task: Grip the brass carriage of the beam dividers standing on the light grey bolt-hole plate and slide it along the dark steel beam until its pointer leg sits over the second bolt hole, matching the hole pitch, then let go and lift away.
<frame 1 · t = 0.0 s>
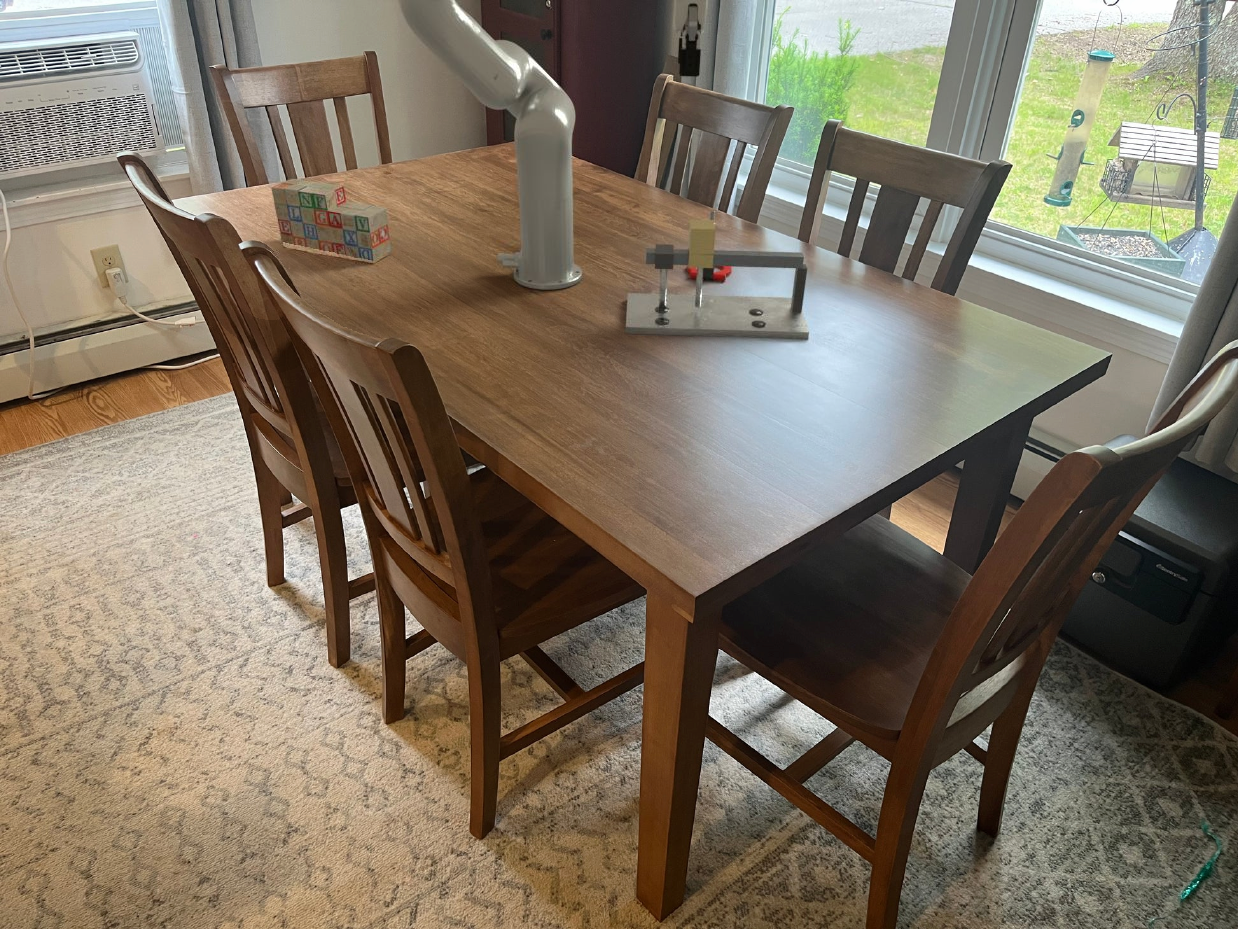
hand: (688, 69, 156), 37 cm above the table, tool pointing down, fingers open, 9 cm apart
hole plate: (714, 318, 163), on the table
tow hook: (708, 273, 181), on the table
carriage: (699, 264, 160), point 9 cm above the table, slide at 0.0 cm
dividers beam: (724, 279, 161), on the hole plate, point 6 cm above the table
stack of blocks: (337, 252, 187), on the table
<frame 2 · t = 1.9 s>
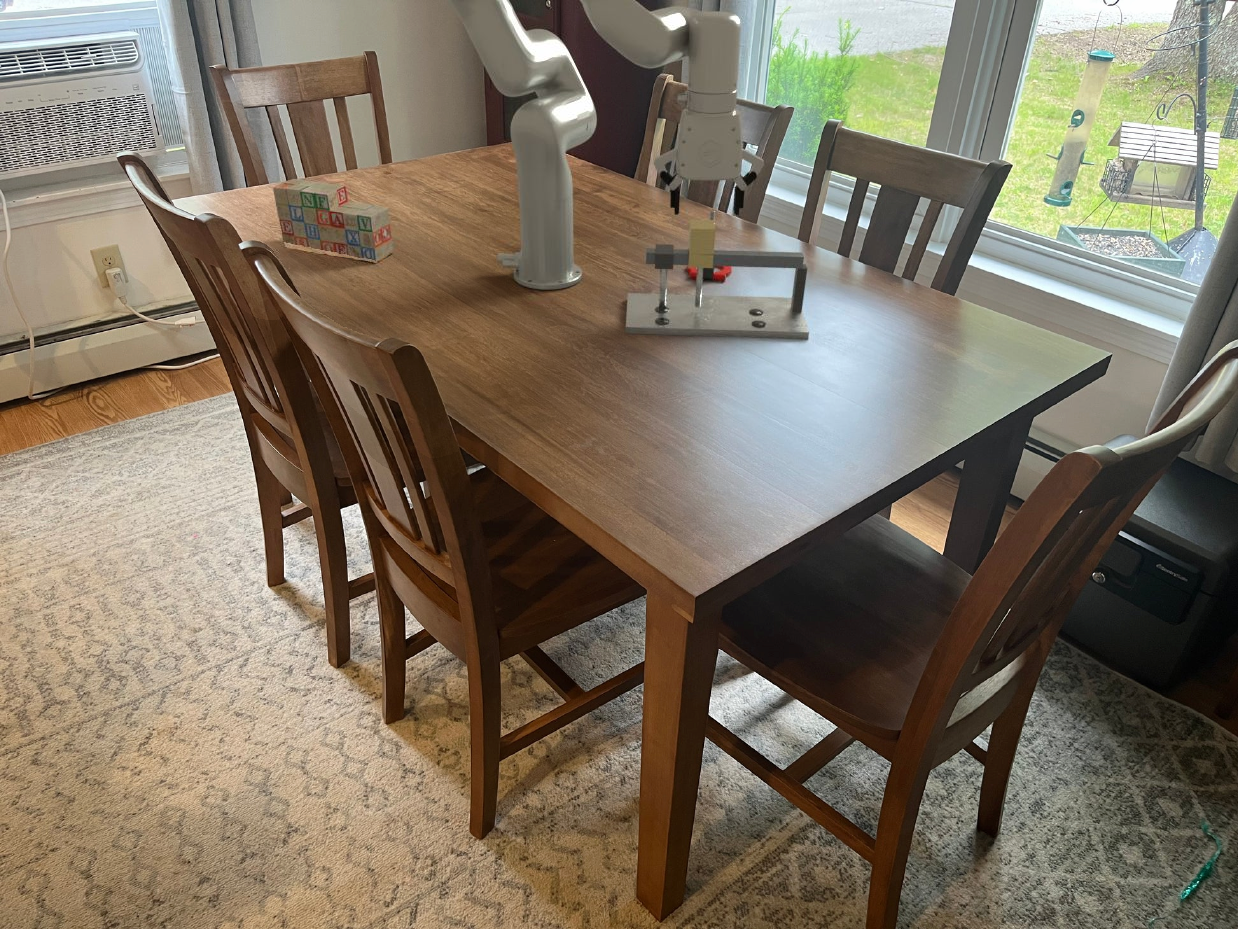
hand: (706, 212, 155), 18 cm above the table, tool pointing down, fingers open, 9 cm apart
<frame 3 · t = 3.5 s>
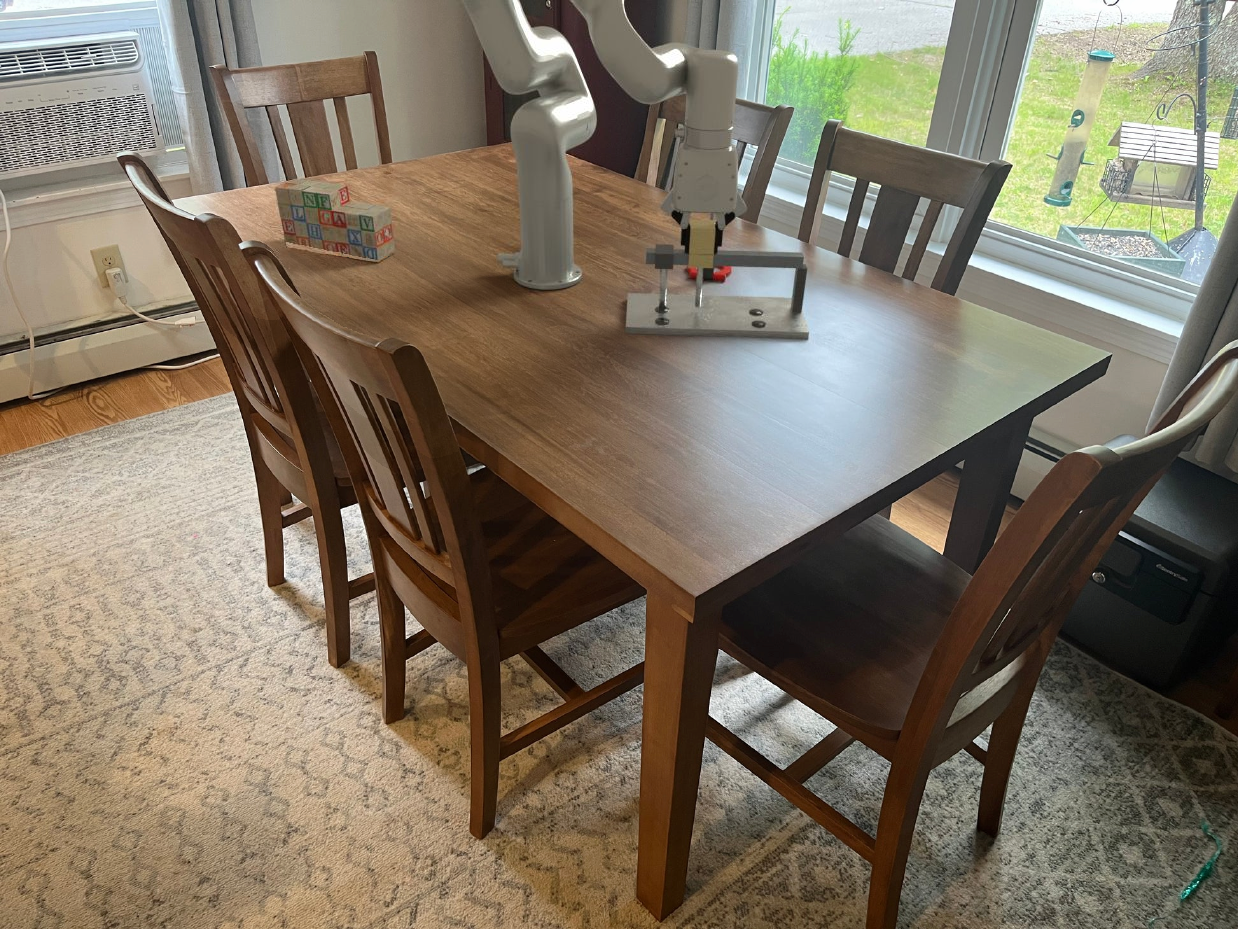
hand: (700, 248, 158), 12 cm above the table, tool pointing down, fingers closed on carriage, 4 cm apart
carriage: (699, 264, 160), point 9 cm above the table, slide at 0.0 cm, touching gripper
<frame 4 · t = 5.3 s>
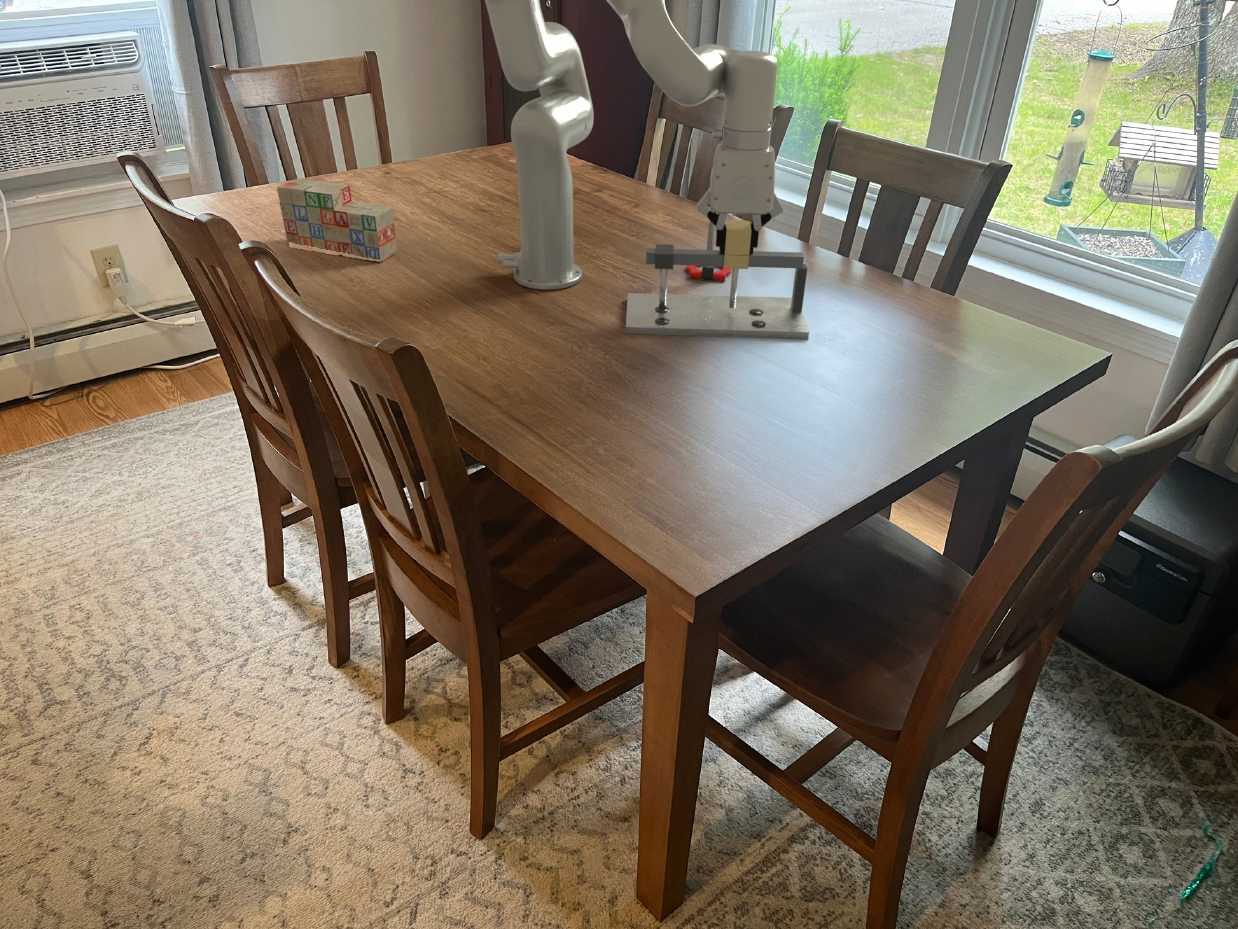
hand: (736, 249, 158), 12 cm above the table, tool pointing down, fingers closed on carriage, 4 cm apart
carriage: (734, 265, 160), point 9 cm above the table, slide at 5.8 cm, touching gripper
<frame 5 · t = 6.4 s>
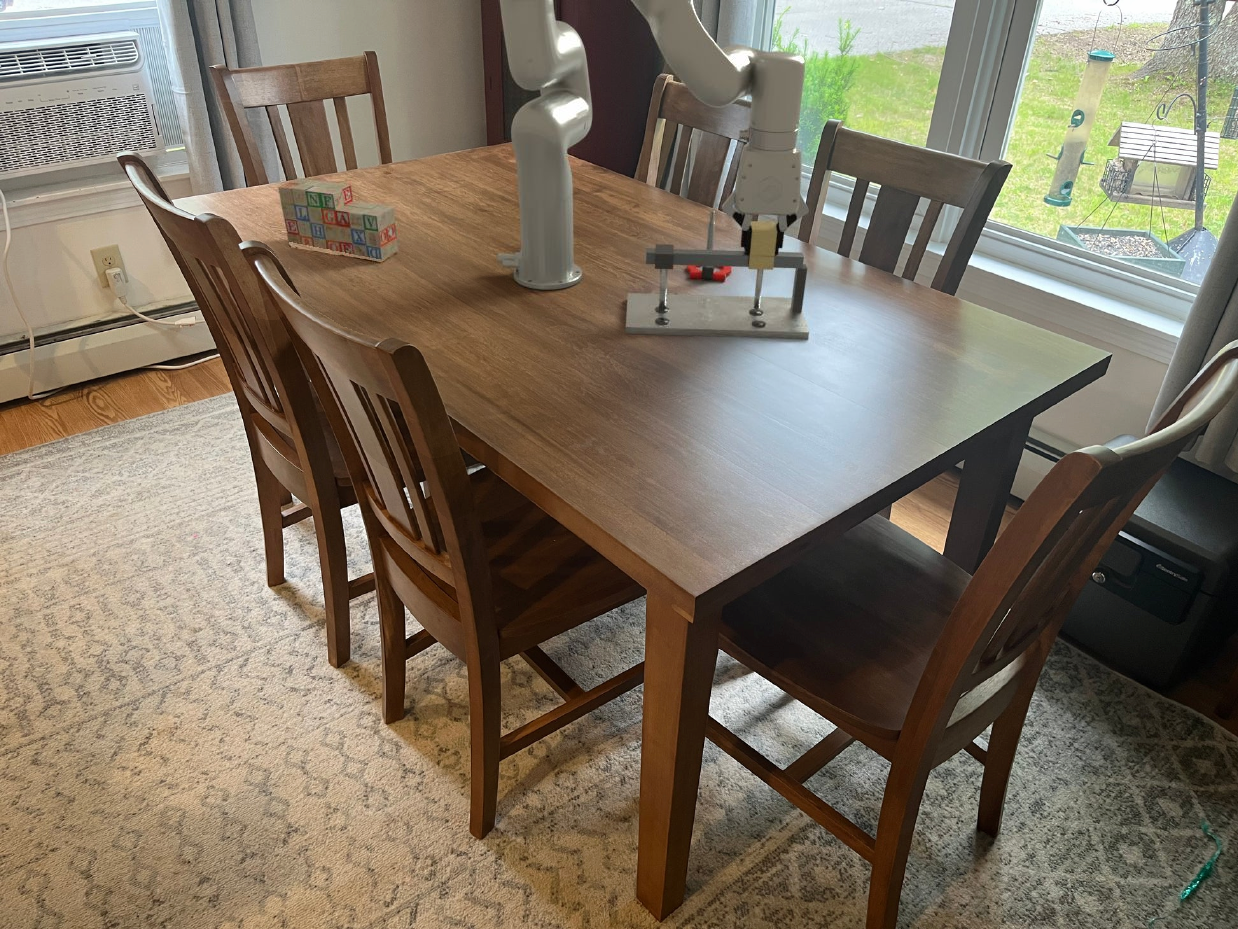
hand: (760, 250, 158), 12 cm above the table, tool pointing down, fingers closed on carriage, 4 cm apart
carriage: (759, 265, 159), point 9 cm above the table, slide at 10.0 cm, touching gripper
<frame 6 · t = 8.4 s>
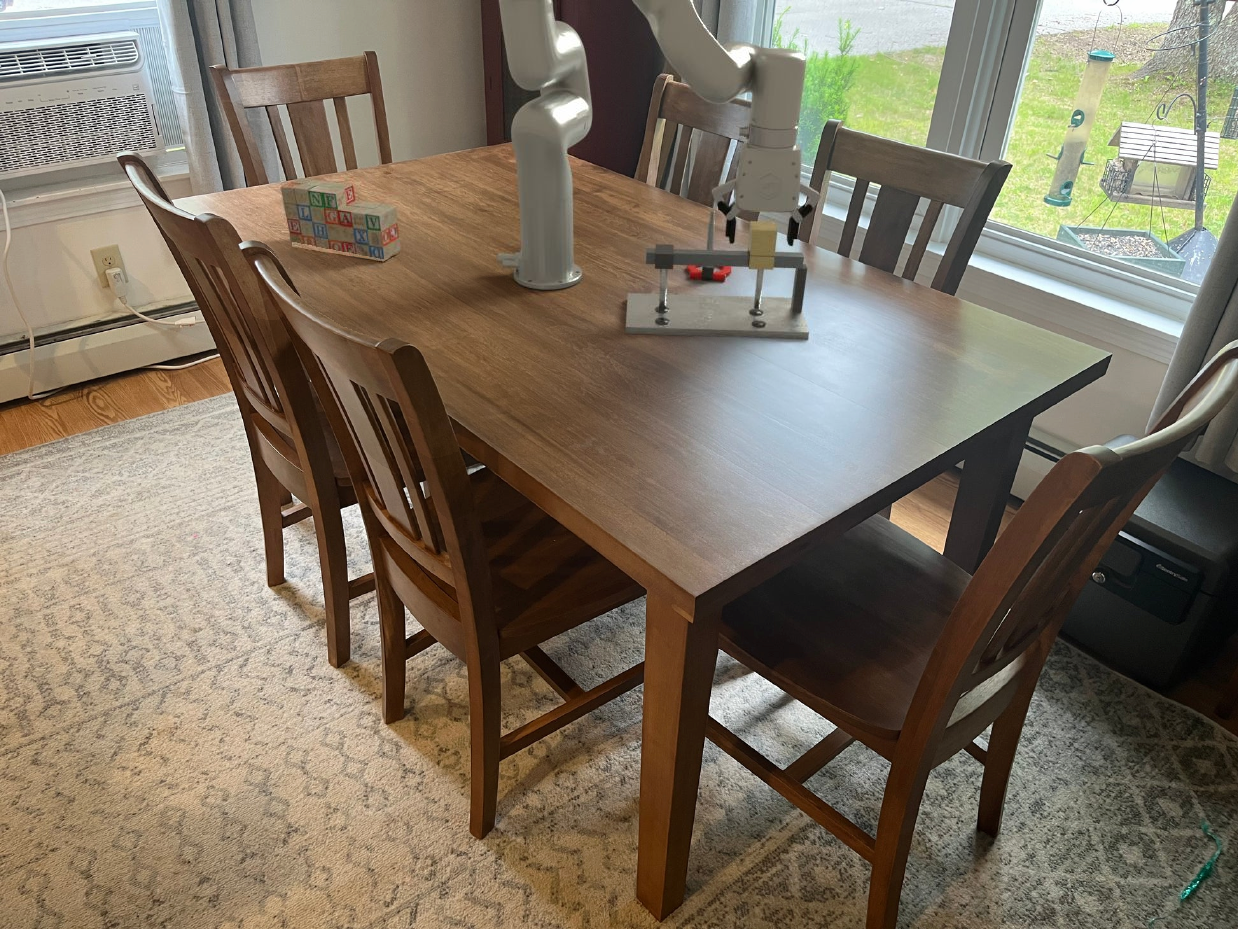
hand: (760, 242, 157), 13 cm above the table, tool pointing down, fingers open, 9 cm apart
carriage: (759, 265, 159), point 9 cm above the table, slide at 10.0 cm
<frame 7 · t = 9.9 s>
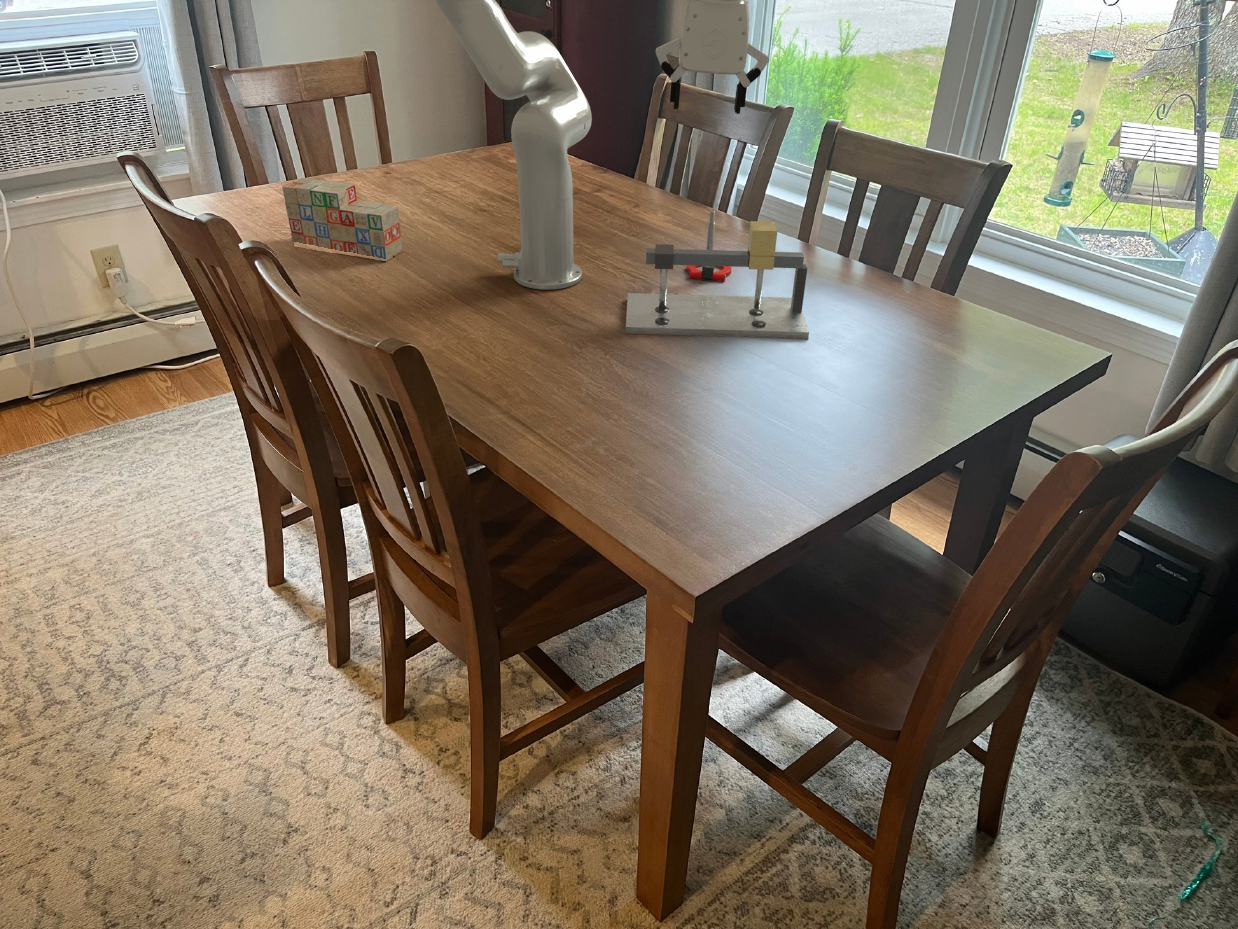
hand: (706, 109, 150), 33 cm above the table, tool pointing down, fingers open, 9 cm apart
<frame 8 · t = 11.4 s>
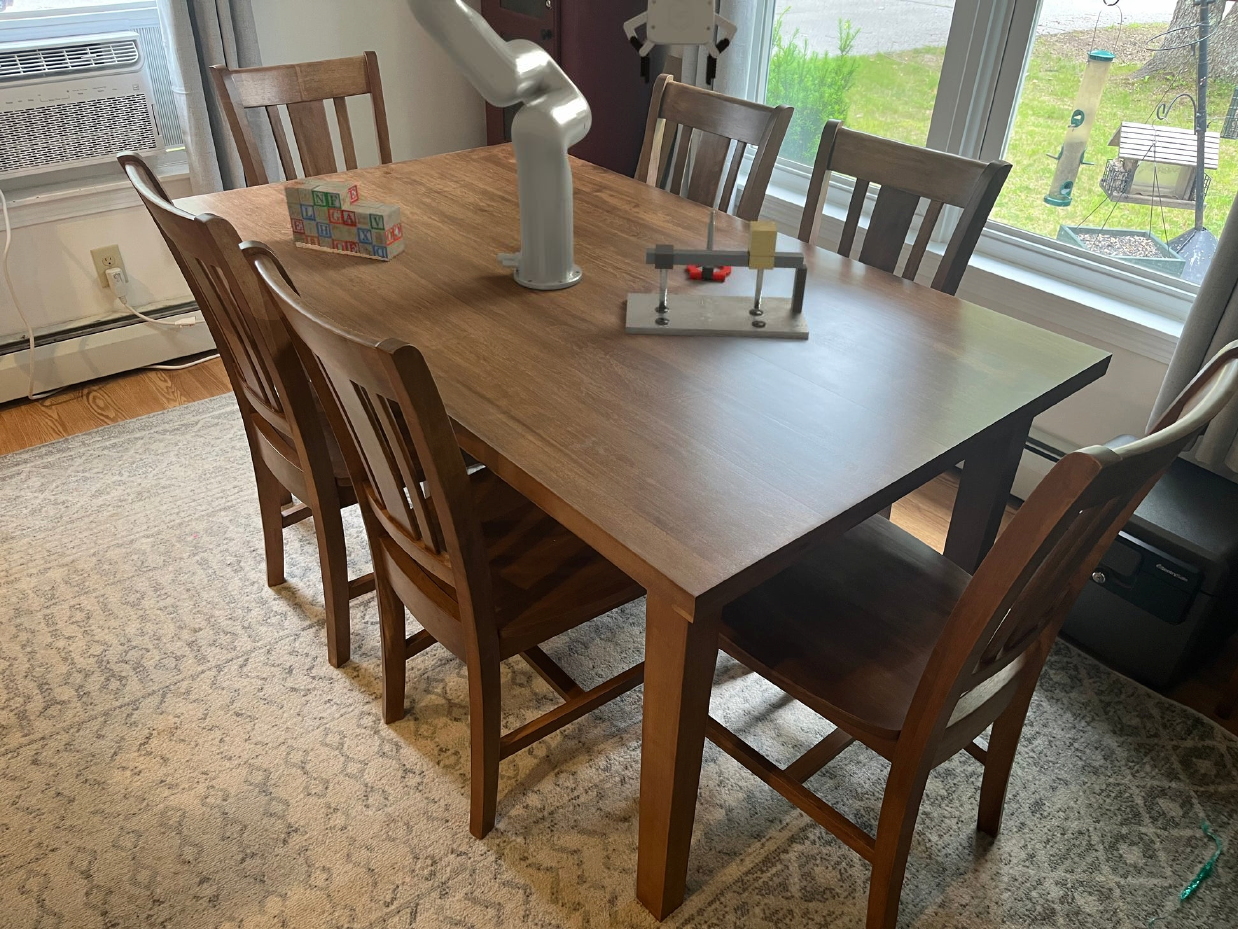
hand: (677, 82, 150), 36 cm above the table, tool pointing down, fingers open, 9 cm apart
at the end: carriage slide at 10.0 cm; the gripper is holding nothing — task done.
